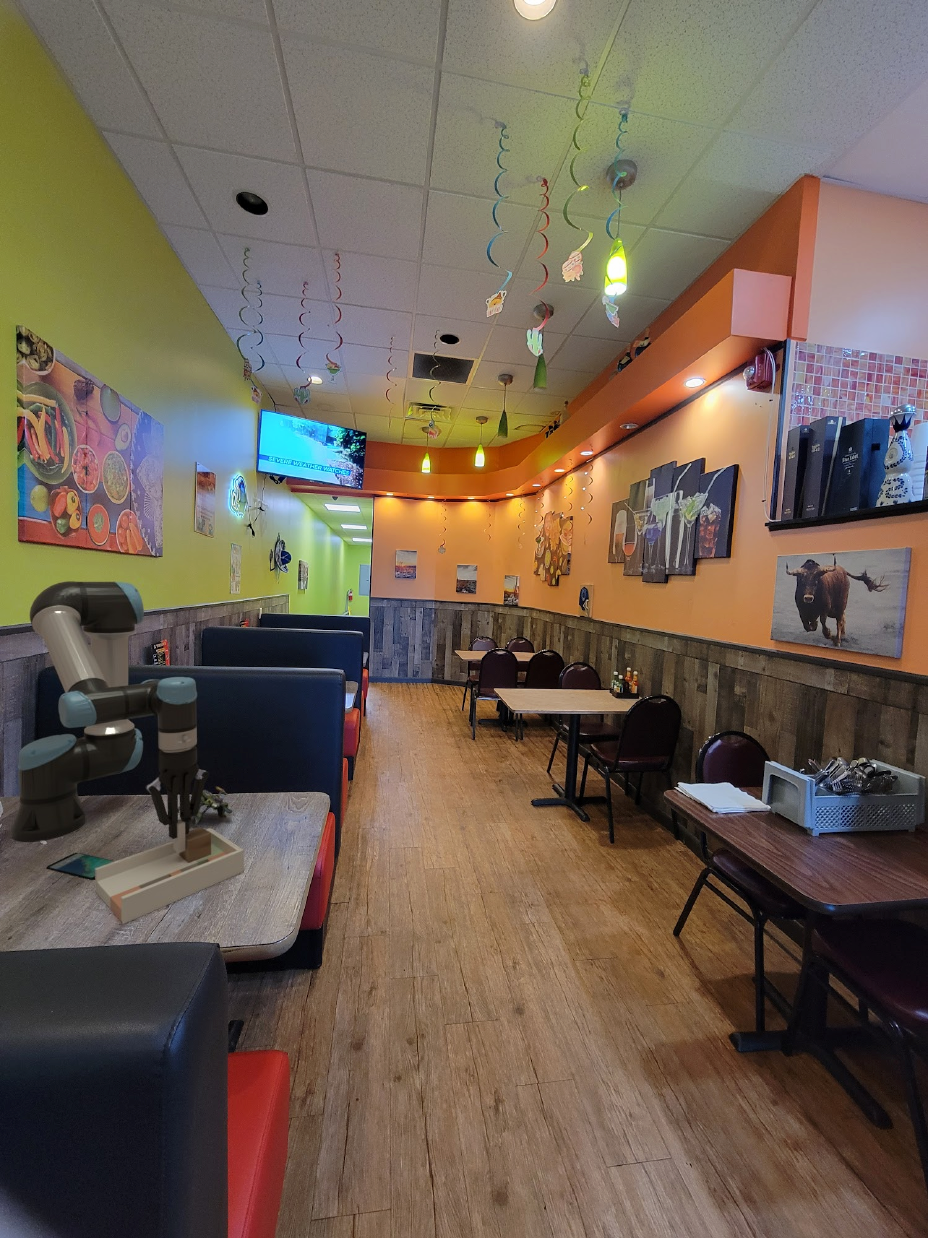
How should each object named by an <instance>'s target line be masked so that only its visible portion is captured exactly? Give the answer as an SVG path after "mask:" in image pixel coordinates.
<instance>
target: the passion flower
mask: <svg viewBox="0 0 928 1238" xmlns="http://www.w3.org/2000/svg"><path fill="white" fill-rule="evenodd" d="M215 789H216V790H217V791H218V792H219V793H218V794H215V795H214V794H213V793H212V792H210V791H208V790H206V789H203V793H202V798H201V802H200V807H199V811H198V814H197V815H196V816H193V817H192V818H194V820H195V824H194V826H193V827H192V828H193V829H195V827H196V826H197V824H198V823H199V822H200V821H201V820H202V819H203V817H204V815H205V814H206V812H207V811H208V810H210V808H212V810H214V811H216V812H217V815H218V816H219V818H225V819H226V818H227V814H232V813H233V810H232V809H230V808H229V807H230V805H229V802H227V801H224V799H225V798H223V797H220V796H221V795H224V796H227V795H228V793H226V791H225V790H224V788H221V787H220V786H215ZM202 806H206V807H205V809H204V810H203V811H202V812H201V811H200V810H201V807H202ZM226 813H227V814H226ZM178 814H180V805H178Z"/></svg>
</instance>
